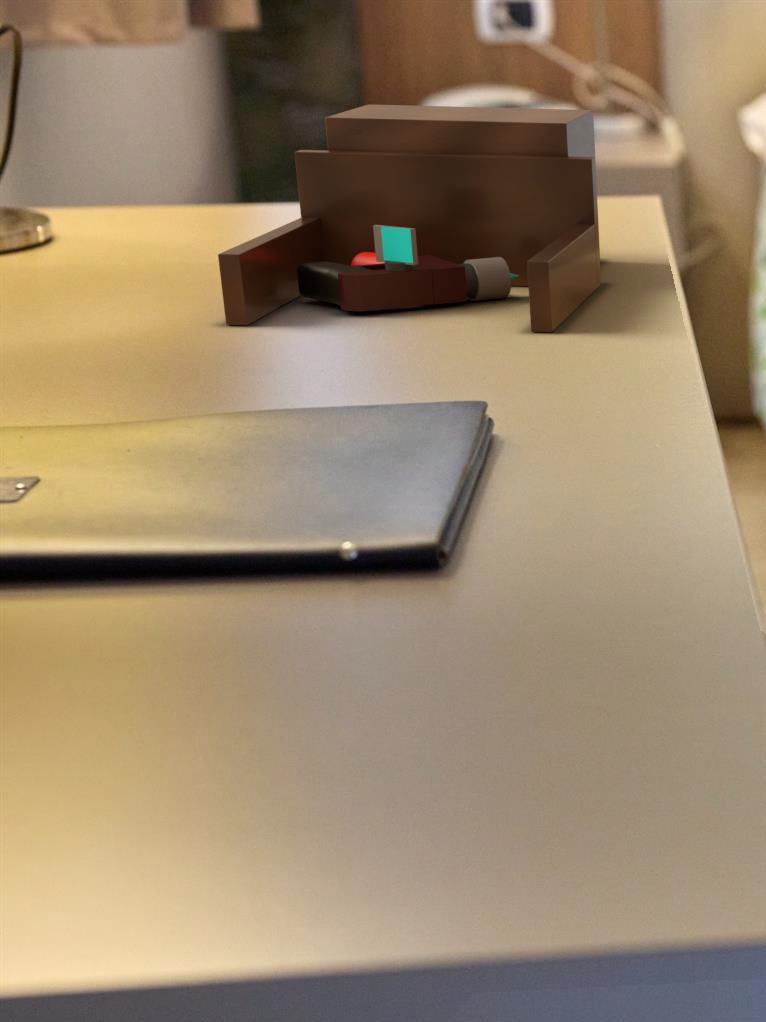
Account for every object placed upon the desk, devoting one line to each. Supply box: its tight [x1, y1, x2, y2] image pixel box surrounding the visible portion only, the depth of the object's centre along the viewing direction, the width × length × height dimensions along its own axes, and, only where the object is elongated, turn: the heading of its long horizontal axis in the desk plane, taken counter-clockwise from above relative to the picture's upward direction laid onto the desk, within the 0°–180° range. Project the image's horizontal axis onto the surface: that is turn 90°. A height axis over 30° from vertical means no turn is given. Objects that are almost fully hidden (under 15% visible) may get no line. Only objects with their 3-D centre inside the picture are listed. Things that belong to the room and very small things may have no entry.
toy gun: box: [297, 225, 519, 312], centre depth 119 cm, size 10×12×5 cm
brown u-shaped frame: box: [217, 104, 602, 333], centre depth 120 cm, size 18×25×10 cm
